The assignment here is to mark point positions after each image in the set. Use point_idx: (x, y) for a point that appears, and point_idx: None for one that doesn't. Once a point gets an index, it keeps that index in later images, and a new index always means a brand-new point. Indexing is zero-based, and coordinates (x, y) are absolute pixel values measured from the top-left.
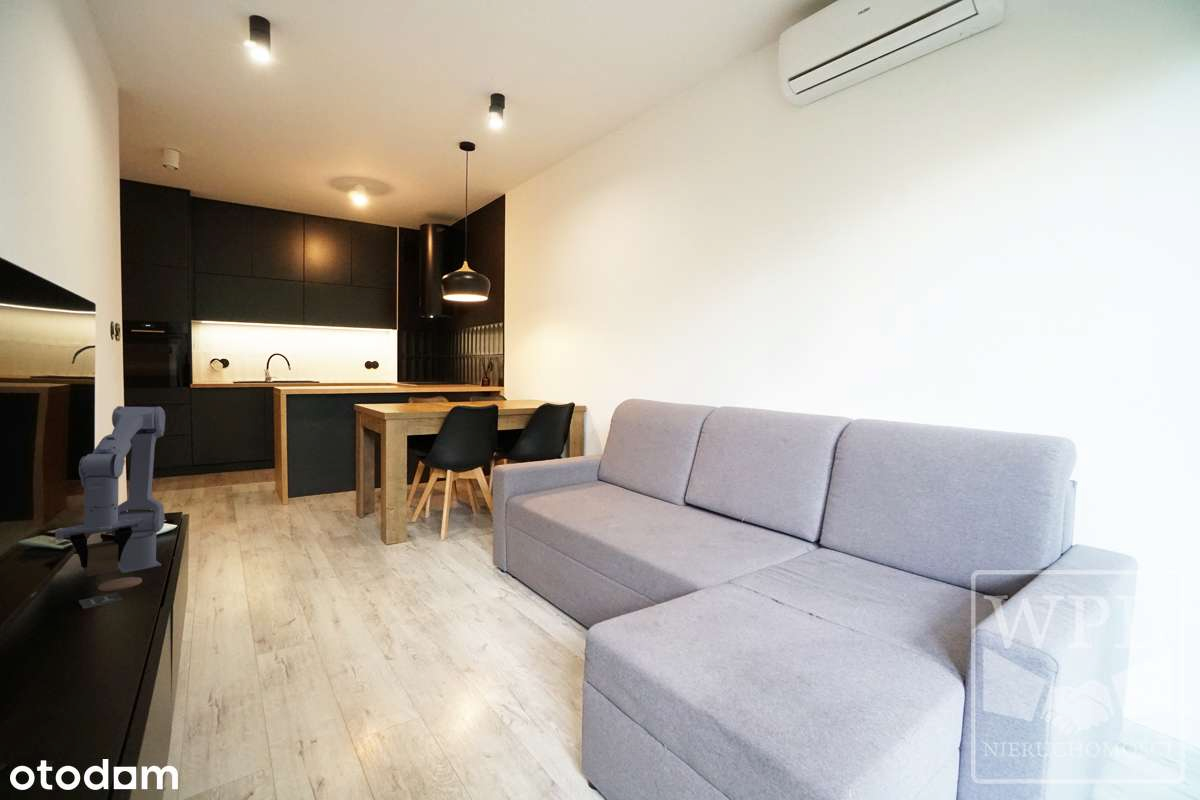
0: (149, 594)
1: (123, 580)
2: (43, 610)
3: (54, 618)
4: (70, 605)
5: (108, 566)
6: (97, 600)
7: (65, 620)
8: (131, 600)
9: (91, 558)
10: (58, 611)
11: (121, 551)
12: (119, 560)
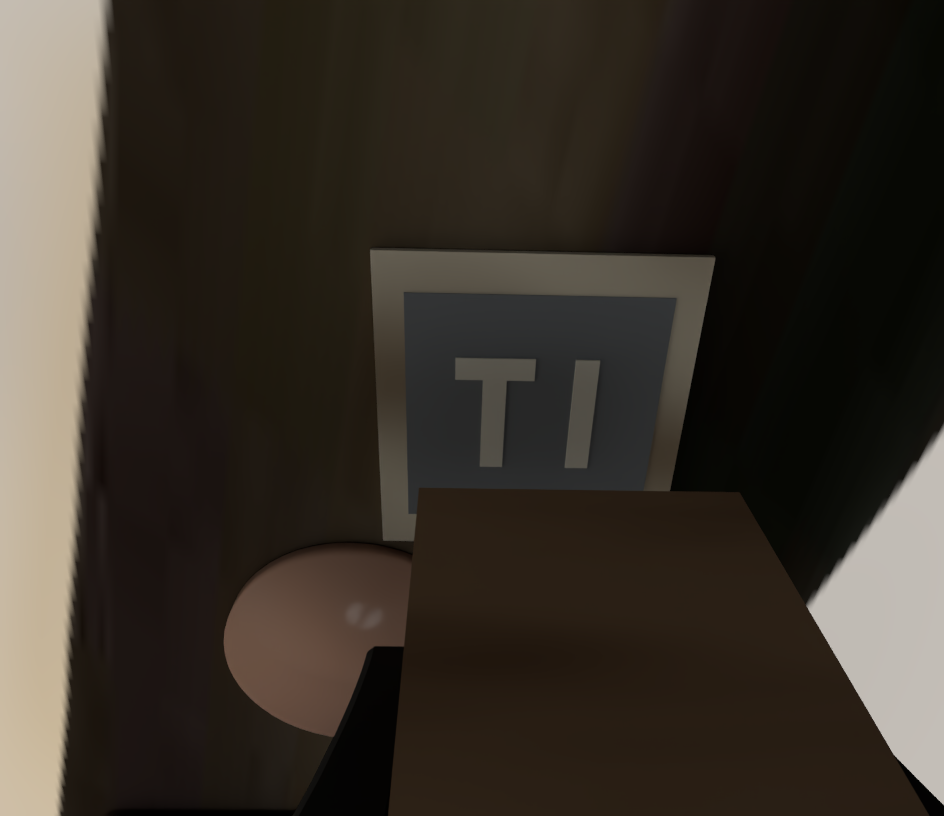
0: (200, 293)
1: (331, 691)
2: (834, 495)
3: (875, 256)
4: (694, 472)
5: (533, 543)
6: (548, 426)
7: (856, 124)
8: (344, 244)
9: (817, 705)
10: (790, 402)
11: (331, 778)
12: (376, 652)
